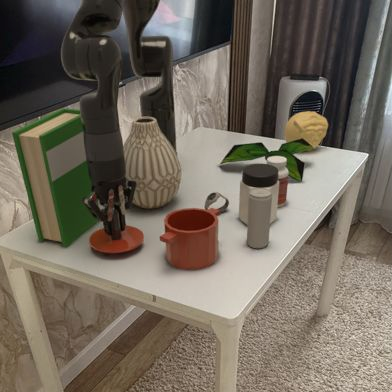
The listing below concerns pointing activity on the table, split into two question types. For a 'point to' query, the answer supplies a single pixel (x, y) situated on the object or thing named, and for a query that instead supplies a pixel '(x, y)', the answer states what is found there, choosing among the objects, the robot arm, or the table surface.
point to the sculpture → (306, 128)
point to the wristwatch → (213, 198)
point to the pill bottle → (280, 177)
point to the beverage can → (259, 217)
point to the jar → (258, 179)
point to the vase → (151, 164)
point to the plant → (259, 150)
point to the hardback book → (56, 175)
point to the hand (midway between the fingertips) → (115, 232)
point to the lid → (116, 238)
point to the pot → (191, 237)
